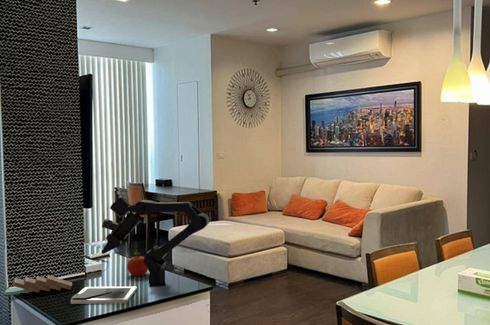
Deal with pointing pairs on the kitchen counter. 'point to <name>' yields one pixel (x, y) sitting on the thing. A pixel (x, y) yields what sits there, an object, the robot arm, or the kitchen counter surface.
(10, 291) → the domino
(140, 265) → the fruit
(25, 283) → the domino
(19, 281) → the domino
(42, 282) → the domino
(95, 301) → the picture frame
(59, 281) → the domino
